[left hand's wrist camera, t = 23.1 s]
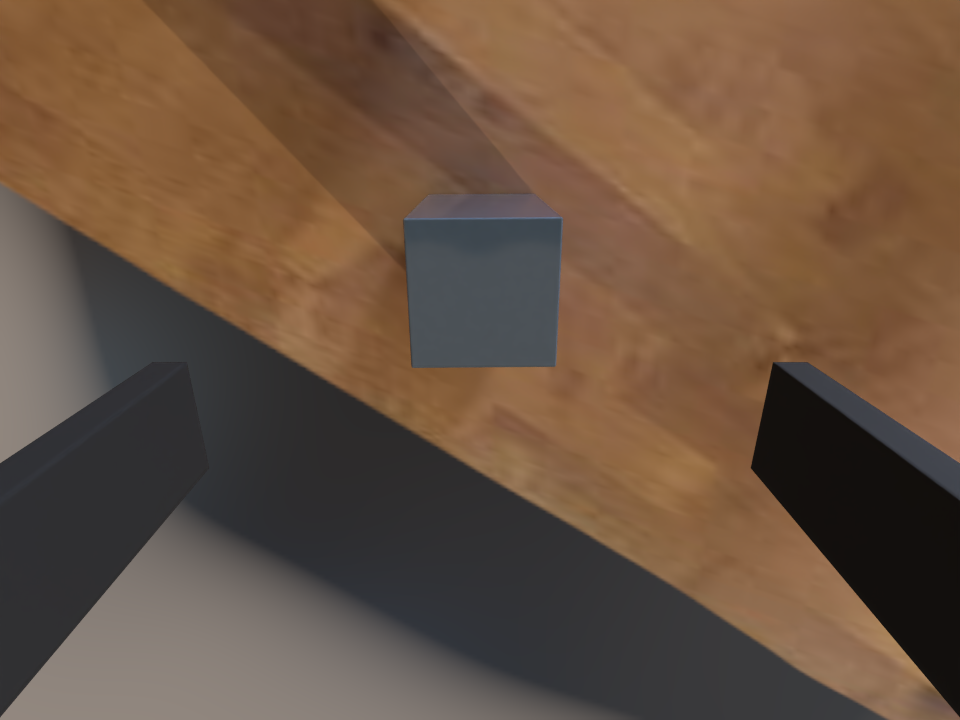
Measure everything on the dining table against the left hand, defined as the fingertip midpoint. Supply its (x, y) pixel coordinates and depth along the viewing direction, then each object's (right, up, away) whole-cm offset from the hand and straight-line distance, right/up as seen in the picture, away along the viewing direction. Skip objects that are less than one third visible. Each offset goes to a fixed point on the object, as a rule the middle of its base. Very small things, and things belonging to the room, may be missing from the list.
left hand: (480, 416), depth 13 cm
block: (0, +8, +21) cm, 22 cm away
